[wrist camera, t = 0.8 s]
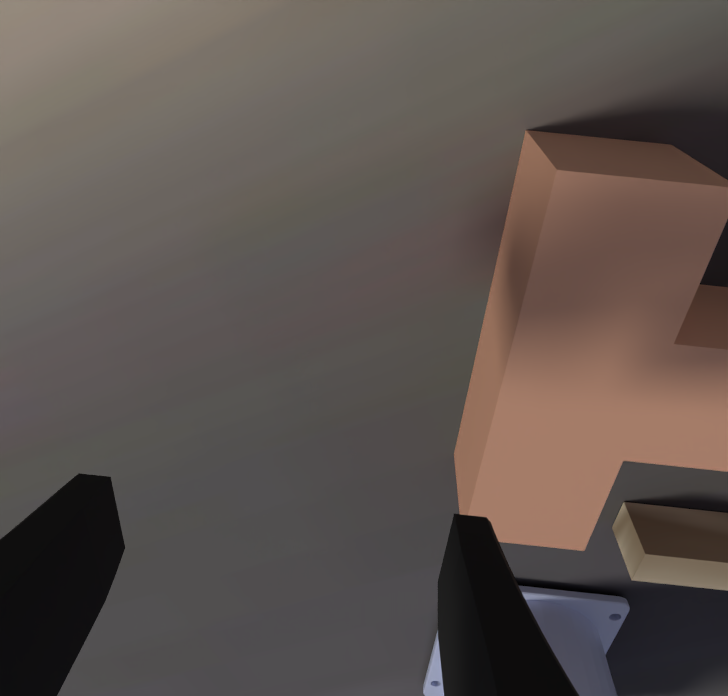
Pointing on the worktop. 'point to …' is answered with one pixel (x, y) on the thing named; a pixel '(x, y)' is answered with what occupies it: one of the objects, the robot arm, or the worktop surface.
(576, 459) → the tee
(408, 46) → the worktop surface
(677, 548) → the nest
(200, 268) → the worktop surface
